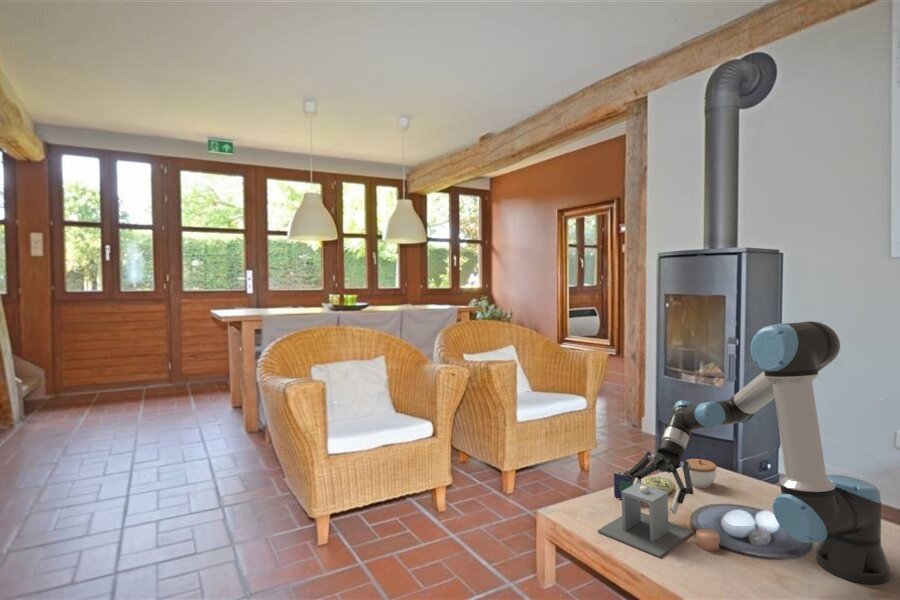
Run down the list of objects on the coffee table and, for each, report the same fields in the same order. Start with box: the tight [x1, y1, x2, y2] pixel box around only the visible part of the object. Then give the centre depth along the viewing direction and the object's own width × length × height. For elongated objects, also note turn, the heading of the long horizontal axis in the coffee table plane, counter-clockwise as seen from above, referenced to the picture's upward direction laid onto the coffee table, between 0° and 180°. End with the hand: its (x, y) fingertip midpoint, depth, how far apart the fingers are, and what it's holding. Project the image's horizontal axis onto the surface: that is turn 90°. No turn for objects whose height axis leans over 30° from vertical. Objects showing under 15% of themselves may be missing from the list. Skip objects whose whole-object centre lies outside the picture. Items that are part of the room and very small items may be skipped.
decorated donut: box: [642, 476, 676, 496], centre depth 184 cm, size 10×11×4 cm
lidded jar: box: [684, 458, 717, 489], centre depth 187 cm, size 11×11×9 cm
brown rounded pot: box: [695, 528, 721, 552], centre depth 146 cm, size 6×6×4 cm
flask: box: [613, 468, 642, 500], centre depth 178 cm, size 9×3×11 cm, turn 61°
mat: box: [597, 511, 694, 559], centre depth 155 cm, size 20×20×1 cm
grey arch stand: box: [621, 483, 669, 542], centre depth 154 cm, size 10×9×13 cm
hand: (651, 504), depth 158 cm, fingers open, 13 cm apart
